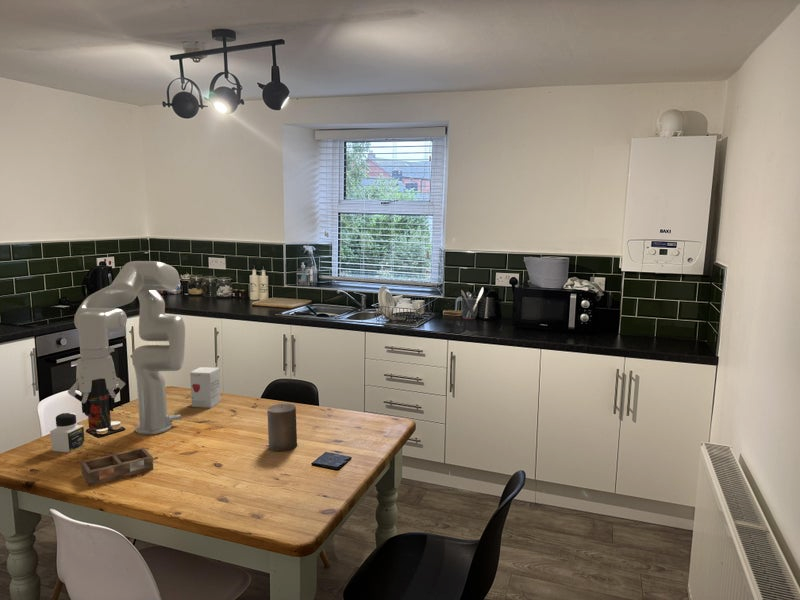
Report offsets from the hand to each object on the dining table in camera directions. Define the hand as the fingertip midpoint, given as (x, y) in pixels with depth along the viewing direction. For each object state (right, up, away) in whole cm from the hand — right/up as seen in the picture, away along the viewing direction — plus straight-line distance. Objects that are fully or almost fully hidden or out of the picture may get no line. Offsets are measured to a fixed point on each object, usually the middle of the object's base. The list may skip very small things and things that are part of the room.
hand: (98, 411), depth 173 cm
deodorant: (0, -5, +1) cm, 5 cm away
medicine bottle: (-23, -17, +24) cm, 37 cm away
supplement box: (+9, -11, +70) cm, 71 cm away
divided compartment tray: (+3, -19, +5) cm, 20 cm away
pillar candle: (+50, -17, +25) cm, 58 cm away
